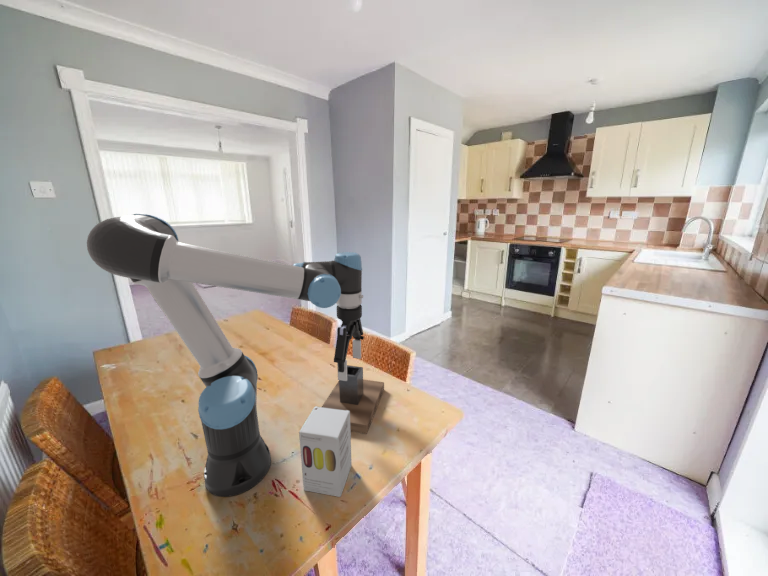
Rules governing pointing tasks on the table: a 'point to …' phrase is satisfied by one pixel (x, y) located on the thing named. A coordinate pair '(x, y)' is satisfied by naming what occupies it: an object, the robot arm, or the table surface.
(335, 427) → the supplement box
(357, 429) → the tang block
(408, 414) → the table surface
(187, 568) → the table surface
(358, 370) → the hollow square tube
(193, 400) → the table surface
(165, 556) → the table surface
